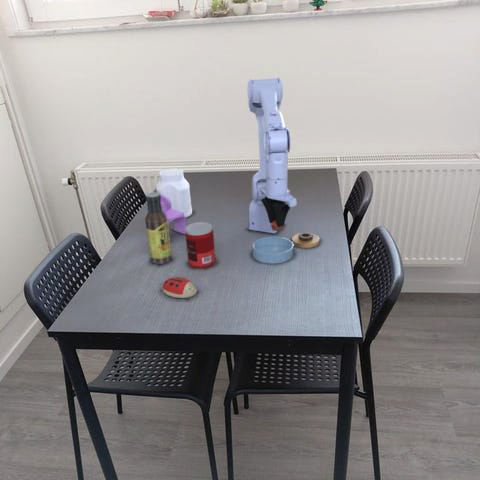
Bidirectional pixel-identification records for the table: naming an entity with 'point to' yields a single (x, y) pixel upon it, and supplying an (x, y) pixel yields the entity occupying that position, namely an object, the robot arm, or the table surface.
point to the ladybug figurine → (179, 288)
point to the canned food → (200, 245)
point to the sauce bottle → (157, 230)
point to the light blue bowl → (273, 250)
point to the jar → (175, 190)
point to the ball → (275, 226)
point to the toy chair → (173, 214)
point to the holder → (305, 240)
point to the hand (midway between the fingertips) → (276, 224)
